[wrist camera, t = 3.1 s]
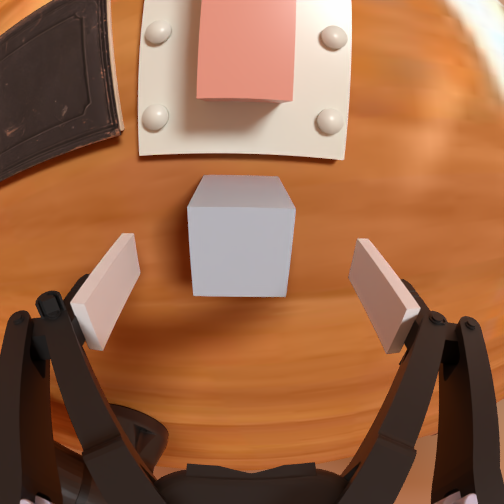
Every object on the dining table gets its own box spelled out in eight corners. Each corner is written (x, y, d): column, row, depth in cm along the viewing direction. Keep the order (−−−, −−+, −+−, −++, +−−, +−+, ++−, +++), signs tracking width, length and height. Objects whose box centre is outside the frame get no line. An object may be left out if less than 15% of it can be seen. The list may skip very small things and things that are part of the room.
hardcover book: (130, 132, 21) (119, 135, 19) (-22, 193, 21) (-33, 199, 19) (115, -21, 13) (105, -29, 11) (-37, 77, 14) (-49, 78, 12)
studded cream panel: (144, 153, 21) (113, 169, 16) (157, -50, 12) (137, -82, 6) (339, 157, 22) (369, 174, 17) (343, -43, 13) (369, -73, 7)
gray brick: (205, 241, 25) (193, 295, 18) (203, 175, 23) (187, 206, 15) (273, 242, 26) (285, 296, 19) (277, 176, 23) (295, 208, 16)
